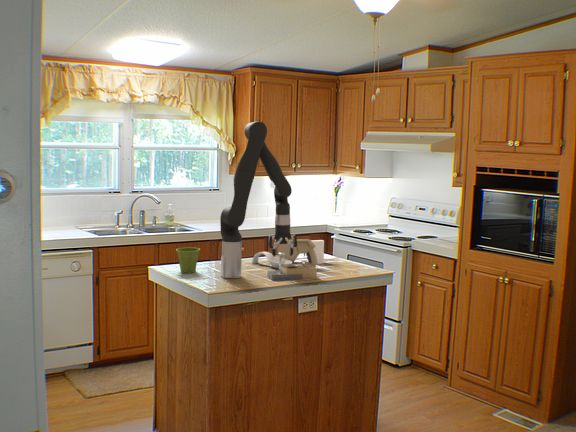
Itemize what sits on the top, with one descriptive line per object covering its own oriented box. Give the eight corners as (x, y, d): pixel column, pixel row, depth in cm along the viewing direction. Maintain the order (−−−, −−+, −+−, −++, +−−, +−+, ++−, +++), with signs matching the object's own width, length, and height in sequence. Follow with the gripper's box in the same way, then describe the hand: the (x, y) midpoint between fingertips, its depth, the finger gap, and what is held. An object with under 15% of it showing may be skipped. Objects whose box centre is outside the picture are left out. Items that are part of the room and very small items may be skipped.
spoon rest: (296, 267, 312) (296, 254, 311) (283, 271, 302) (283, 257, 301) (260, 262, 325) (260, 249, 324) (246, 265, 316) (247, 252, 315)
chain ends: (271, 280, 279) (272, 269, 279) (267, 276, 288) (267, 266, 287) (316, 278, 285) (316, 268, 285) (310, 274, 294) (310, 264, 293)
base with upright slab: (319, 260, 333) (320, 239, 332) (326, 263, 325) (326, 241, 324) (304, 261, 330) (305, 239, 329) (311, 264, 322) (311, 242, 320)
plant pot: (190, 268, 303) (190, 246, 302) (204, 272, 294) (205, 249, 293) (170, 271, 295) (171, 248, 293) (184, 275, 286) (184, 252, 285)
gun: (318, 268, 311) (316, 239, 310) (315, 269, 308) (313, 240, 307) (278, 266, 323) (276, 239, 322) (275, 267, 320) (273, 240, 319)
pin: (279, 274, 294) (279, 253, 293) (277, 272, 298) (277, 252, 297) (286, 273, 295) (286, 253, 294) (284, 272, 299) (284, 252, 298)
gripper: (270, 224, 288) (270, 258, 290) (298, 224, 292) (298, 256, 294) (266, 223, 295) (266, 255, 297) (294, 222, 299) (294, 253, 301)
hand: (282, 255), depth 296 cm, fingers open, 8 cm apart
